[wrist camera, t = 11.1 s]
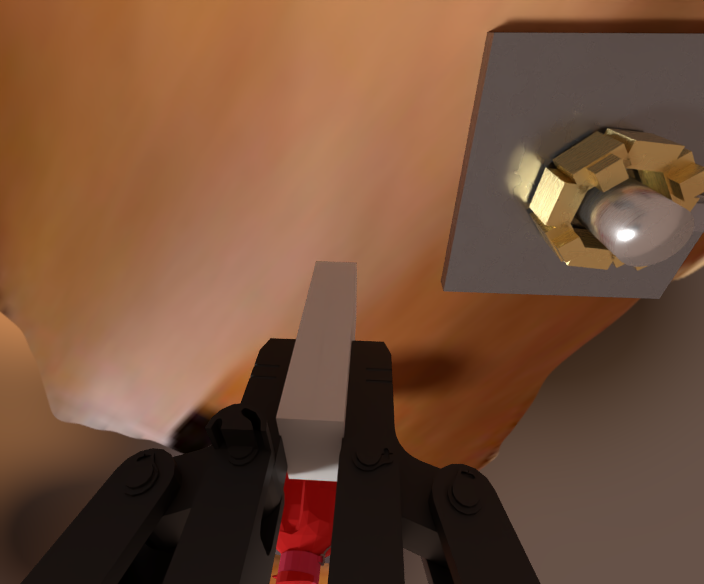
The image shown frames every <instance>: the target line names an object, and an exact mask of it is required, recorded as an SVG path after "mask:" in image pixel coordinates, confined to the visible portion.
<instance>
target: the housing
mask: <svg viewBox="0 0 704 584" xmlns="http://www.w3.org/2000/svg"><path fill="white" fill-rule="evenodd" d="M607 128H610V129H619V130H627V131H636V132H645V133H652V134H655V135H657V136H660V137H663V138H665V139H668V140H671V141H673V142H676V143H678V144H681V145H684V146H685V147H684V148H685V149H687V150H690V151H692V154H693V157H694V161H695V163H696V164H698V165H701V166H703V167H704V34H702V33H504V32H487V37H486V42H485V48H484V53H483V58H482V64H481V69H480V75H479V80H478V85H477V91H476V96H475V101H474V107H473V112H472V117H471V123H470V128H469V134H468V139H467V144H466V150H465V155H464V160H463V166H462V171H461V176H460V182H459V187H458V192H457V198H456V203H455V209H454V214H453V219H452V225H451V230H450V235H449V241H448V246H447V251H446V257H445V262H444V267H443V273H442V278H441V283H442V287H443V291H454V292H482V293H511V294H540V295H568V296H597V297H625V298H655V299H659V298H660V297H661V295H662V294H663V292H664V291H665V289H666V288H667V286H668V285H669V283H670V282H671V280H672V279H673V277H674V276H675V274H676V273H677V271H678V269H679V268H680V266H681V265H682V263H683V262H684V260H685V259H686V257H687V256H688V254H689V253H690V251H691V250H692V248H693V247H694V245H695V244H696V242H697V241H698V239H699V238H700V236H701V234H702V233H703V232H698V231H693V230H694V218H693V215H692V214H691V213H690V212H689V211H688V210H687V209H685V208H684V207H682V206H680V205H679V204H677V203H675V202H673V201H672V200H670V199H668V198H666V197H665V196H663V195H661V194H660V193H658V192H656V191H654V190H653V189H651V188H649V187H647V186H646V185H644V184H642V181H641V178H640V175H639V173H638V170H637V169H629V168H625V169H626V172H627V174H628V177H629V178H628V179H627V180H625V181H623V182H621V183H620V184H618V185H616V186H614V187H612V188H611V189H609V190H607V191H605V192H604V193H603V192H602V191H600V190H599V189H598V188H596V187H595V186H594V187H593V188H591V189H589V190H588V191H587V192H586V194H585V196H584V198H583V200H582V202H581V204H580V206H579V208H578V209H577V211H576V213H575V215H574V217H573V219H572V221H571V223H570V224H571V226H572V228H577V229H586V230H588V231H590V232H591V233H592V234H593V235H594V236H595V237H596V238H597V239H598V240H599V241H600V242H601V243H602V244H603V245H604V246H605V247H606V248H607V249H609V250H610V251H611V252H612V253H613V254H614V255H615V256H616V257H617V258H618V259H619V260H620V261H621V262H623V263H624V265H622V266H620V267H618V268H616V267H615V266H614V265H613V264H612V263H611V265H610V266H609V268H608V270H604V269H595V268H586V267H577V266H568V265H567V264H566V263H565V262H564V261H562V262H561V261H560V259H559V258H558V257H557V256H556V254H555V253H554V252H553V251H552V249H551V248H550V247H549V246H548V244H547V243H546V242H545V240H544V239H543V237H542V235H541V233H540V232H539V230H538V228H537V226H536V225H535V223H534V221H533V219H532V218H531V216H530V213H532V212H533V211H532V209H531V208H530V207H529V206H530V204H531V201H532V199H533V196H534V194H535V192H536V189H537V187H538V184H539V182H540V180H541V177H542V175H543V172H544V170H545V168H546V167H547V168H556V166H555V164H554V162H553V159H554V158H556V157H557V156H559V155H560V154H562V153H564V152H565V151H567V150H568V149H570V148H571V147H573V146H574V145H576V144H578V143H579V142H581V141H582V140H584V139H585V138H587V137H589V136H590V135H592V134H593V133H595V132H596V131H598V132H600V133H602V134H605V132H606V130H607ZM556 169H557V168H556ZM699 195H703V196H704V192H703V193H701V194H699ZM633 266H634V267H643V266H647V267H645V268H642V269H640V270H638V271H637V270H636V269H635V268H634V267H633Z"/></svg>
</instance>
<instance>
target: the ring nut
mask: <svg viewBox="0 0 704 584" xmlns="http://www.w3.org/2000/svg"><path fill="white" fill-rule="evenodd" d="M684 147H685V146H684V145H681V144H678V143H676V142H673V141H671V140H668V139H665V138H663V137H660V136H657V135H655V134H652V133H645V132H636V131H627V130H619V129H610V128H607V130H606V132H605V134H602V133H600V132H598V131H596V132H595V133H593V134H592V135H590V136H589V137H587V138H585V139H584V140H582V141H581V142H579V143H578V144H576V145H574V146H573V147H571V148H570V149H568V150H567V151H565V152H564V153H562V154H560V155H559V156H557V157H556V158H554V159H553V162H554V164H555V166H556V168H557V169H556V168H547V167H546V168H545V170H544V172H543V175H542V177H541V180H540V182H539V184H538V187H537V189H536V192H535V194H534V196H533V199H532V201H531V204H530V206H529V207H530V208H531V209H532V211H533V212H532V213H530V216H531V218H532V219H533V221H534V223H535V225H536V226H537V228H538V230H539V232H540V233H541V235H542V237H543V239H544V240H545V242H546V243H547V244H548V246H549V247H550V248H551V249H552V251H553V252H554V253H555V254H556V256H557V257H558V258H559V259H560V261H561V262H562V261H564V262H565V263H566V264H567V265H568V266H577V267H586V268H595V269H604V270H608V268H609V266H610V265H611V263H612V264H613V265H614V266H615V267H616V268H618V267H620V266H622V265H624V263H623V262H621V261H620V260H619V259H618V258H617V257H616V256H615V255H614V254H613V253H612V252H611V251H610V250H609V249H607V248H606V247H605V246H604V245H603V244H602V243H601V242H600V241H599V240H598V239H597V238H596V237H595V236H594V235H593V234H592V233H591V232H590V231H588V230H586V229H577V228H572V226H571V224H570V223H571V221H572V219H573V217H574V215H575V213H576V211H577V209H578V208H579V206H580V204H581V202H582V200H583V198H584V196H585V194H586V192H587V191H588V190H589V189H591V188H593V187H594V186H595V187H596V188H598V189H599V190H600V191H602V192H603V193H604V192H605V191H607V190H609V189H611V188H612V187H614V186H616V185H618V184H620V183H621V182H623V181H625V180H627V179H628V178H629V177H628V174H627V172H626V169H625V168H629V169H637V170H638V173H639V175H640V178H641V181H642V184H644V185H646V186H647V187H649V188H651V189H653V190H654V191H656V192H658V193H660V194H661V195H663V196H665V197H666V198H668V199H670V200H672V201H673V202H675V203H677V204H679V205H680V206H682V207H684V208H685V209H687V210H688V211H689V212H690V213H691V214H692V215H693V218H694V230H693V231H698V232H704V196H703V195H699V194H701V193H703V192H704V167H703V166H701V165H698V164H696V163H695V161H694V157H693V154H692V151H690V150H687V149H685V148H684ZM633 267H634V266H633ZM645 267H647V266H643V267H634V268H635V269H636V270H637V271H638V270H640V269H642V268H645Z"/></svg>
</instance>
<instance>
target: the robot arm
mask: <svg viewBox="0 0 704 584" xmlns="http://www.w3.org/2000/svg"><path fill="white" fill-rule="evenodd" d="M356 285H357V263H355V262H322V261H316V264H315V268H314V272H313V276H312V280H311V283H310V287H309V291H308V295H307V299H306V303H305V307H304V311H303V315H302V318H301V322H300V326H299V330H298V334H297V338H296V339H276V338H271V339H270V340H269V341H268V342H267V343H266V344H265V345H264V346H263V347H262V348H261V349H260V351H259V354H258V356H257V359H256V362H255V367H254V368H253V370H252V373H251V378H250V379H249V381H248V384H247V387H246V390H245V392H244V395H243V398H242V401H241V403H240V404H233V405H231V406H228V407H226V408H224V409H221V410H220V411H219V412H218V413H217V414H215V415H214V416H213V417H212V418H211V419H210V421H209V423H208V424H207V426H206V427H205V429H206V431H207V433H208V436H209V438H210V440H211V443H212V445H211V446H209V447H207V448H204V449H201V450H198V451H194V452H190V453H187V454H183V455H179V456H175V457H172V455H171V454H169V453H168V452H166V451H165V450H163V449H154V448H153V449H149V450H144V451H140V452H138V453H137V454H135V455H133V456H131V457H129V458H128V459H127V460H125V461H124V462H123V463H122V464H121V465H120V466H119V467H118V468H117V469H116V470H115V471H114V472H113V474H112V475H111V476H110V477H109V478H108V480H107V481H106V482H105V483H104V484H103V486H102V487H101V488H100V489H99V490H98V492H97V493H96V494H95V495H94V497H93V498H92V499H91V500H90V501H89V502H88V504H87V505H86V506H85V507H84V508H83V510H82V511H81V512H80V513H79V514H78V516H77V517H76V518H75V519H74V520H73V522H72V523H71V524H70V525H69V526H68V527H67V529H66V530H65V531H64V532H63V533H62V535H61V536H60V537H59V538H58V539H57V541H56V542H55V543H54V544H53V546H52V547H51V548H50V549H49V550H48V551H47V553H46V554H45V555H44V556H43V557H42V559H41V560H40V561H39V563H38V564H37V565H36V566H35V567H34V568H33V569H32V571H31V572H30V573H29V574H28V576H27V577H26V578H25V579H24V580H23V581H22V583H21V584H269V583H270V577H271V572H272V567H273V562H274V556H275V551H276V546H277V540H278V535H279V530H280V525H281V519H282V514H283V509H284V501H285V494H284V489H283V488H284V483H285V478H286V473H288V477H289V479H303V480H321V481H337V486H336V497H335V508H334V519H333V530H332V542H331V553H330V564H329V575H328V584H405V581H404V561H403V548H405V549H407V550H409V551H411V552H413V553H416V554H417V555H420V556H421V559H422V562H423V566H424V569H425V573H426V576H427V580H428V583H429V584H540V582H539V580H538V578H537V576H536V573H535V571H534V569H533V567H532V565H531V563H530V561H529V559H528V557H527V555H526V553H525V551H524V549H523V547H522V545H521V543H520V541H519V539H518V537H517V534H516V532H515V530H514V528H513V526H512V524H511V522H510V520H509V518H508V516H507V514H506V512H505V510H504V508H503V506H502V504H501V502H500V500H499V498H498V495H497V493H496V491H495V489H494V488H493V486H492V485H491V483H490V482H489V481H488V479H487V478H486V477H485V476H484V475H482V474H481V473H480V472H479V471H478V470H476V469H475V468H472V467H470V466H467V465H464V464H450V465H448V466H446V467H443V468H441V469H440V468H437V467H435V466H432V465H430V464H427V463H425V462H422V461H420V460H418V459H416V458H414V457H412V456H411V455H410V454H409V453H407V452H406V451H405V450H404V449H403V447H402V446H401V445H400V443H399V441H398V439H397V437H396V433H395V425H394V404H393V384H392V361H391V353H390V352H389V350H388V348H387V346H386V345H385V343H384V342H375V341H355V328H356Z"/></svg>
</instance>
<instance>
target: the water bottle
mask: <svg viewBox="0 0 704 584" xmlns="http://www.w3.org/2000/svg"><path fill="white" fill-rule="evenodd" d="M336 486H337V481H321V480H303V479H289V477H288V473H286V478H285V483H284V488H283V489H284V494H285V501H284V509H283V514H282V519H281V525H280V530H279V535H278V540H277V546H276V549H277V550H278V551H279V552H280V553H281V558H280V564H279V569H278V574H277V575H274V576H272V577H274V578H275V579H277V580H276V584H318V582H319V574H320V565H321V566H323V565H324V563H325V558H326V557H327V556H329V555H330V553H331V542H332V530H333V519H334V508H335V497H336Z"/></svg>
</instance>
